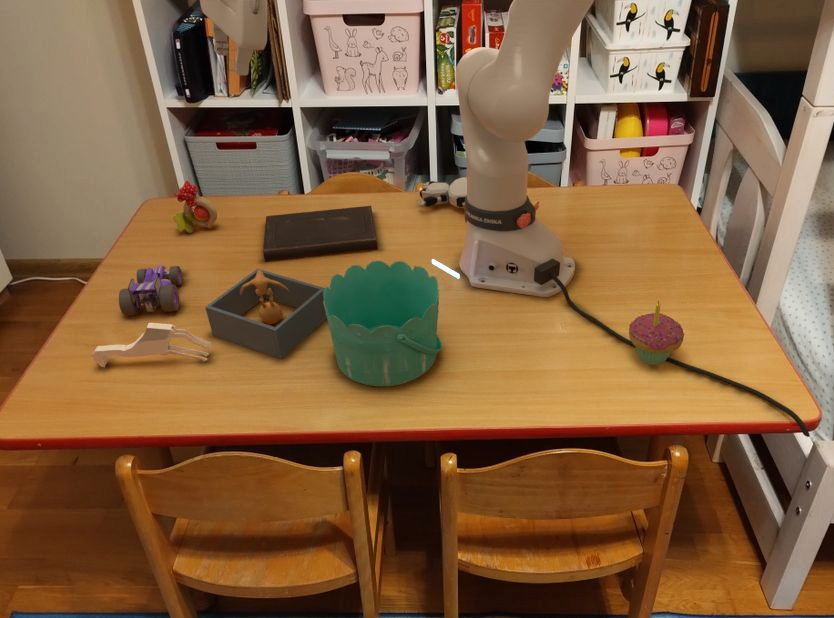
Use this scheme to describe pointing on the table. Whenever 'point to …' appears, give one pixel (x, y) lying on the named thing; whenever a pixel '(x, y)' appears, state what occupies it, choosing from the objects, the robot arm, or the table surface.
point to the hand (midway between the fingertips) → (230, 63)
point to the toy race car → (152, 291)
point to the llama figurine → (152, 344)
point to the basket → (383, 322)
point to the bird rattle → (202, 212)
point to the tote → (261, 336)
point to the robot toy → (444, 193)
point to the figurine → (268, 310)
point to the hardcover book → (319, 233)
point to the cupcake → (655, 336)
